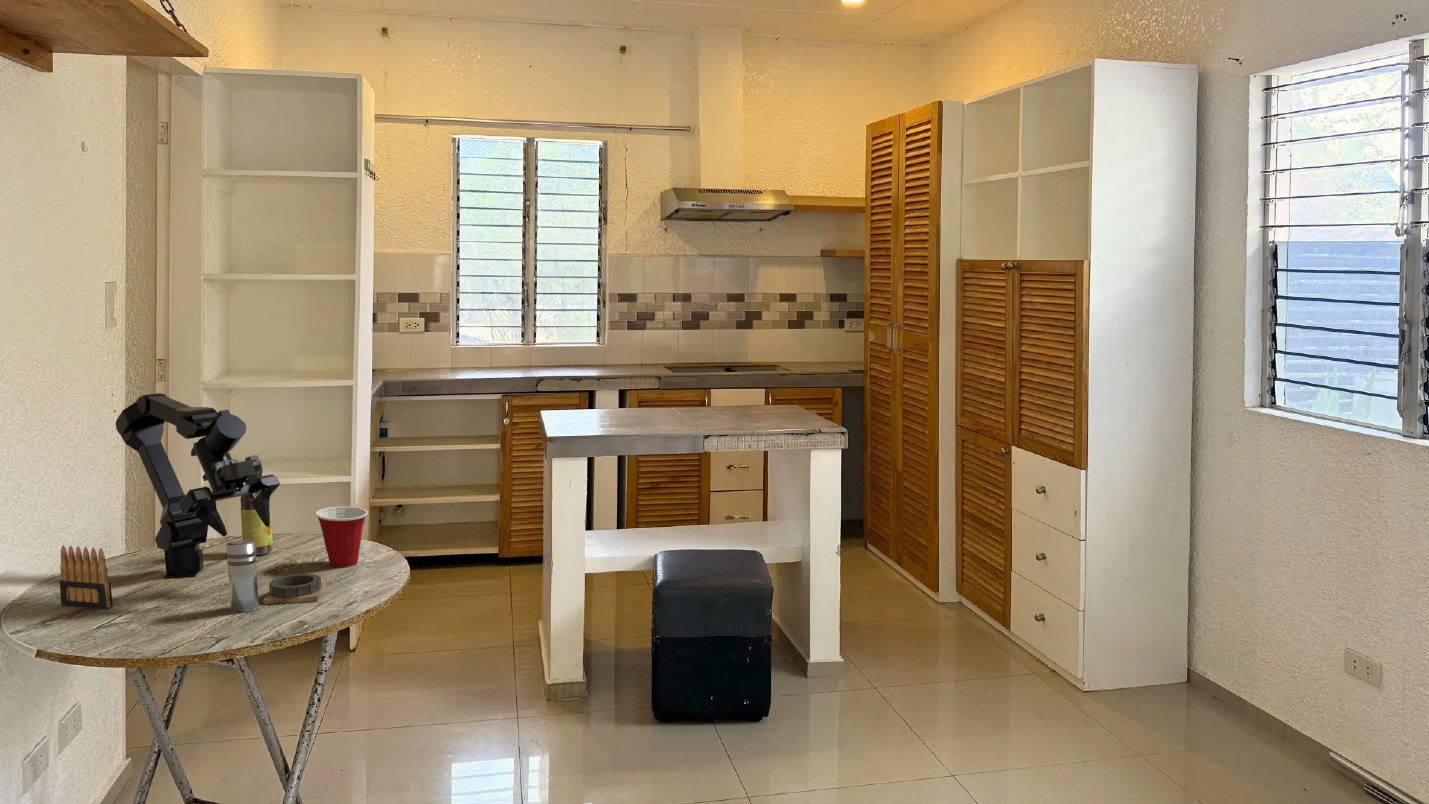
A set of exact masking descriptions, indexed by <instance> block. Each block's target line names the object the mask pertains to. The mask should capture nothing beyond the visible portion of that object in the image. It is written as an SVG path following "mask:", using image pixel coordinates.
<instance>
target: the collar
mask: <svg viewBox="0 0 1429 804" xmlns="http://www.w3.org/2000/svg"><path fill="white" fill-rule="evenodd" d="M327 586H328V585H327V581H322V577H321V576H319V575H317V574H311V573H296V574H295V573H294V574H288V575H283V576H280V577H277V578H274V579H272V580H271V581H270V582H269V583H268V587H269V592H268V593H267V595H266V596H265V597H264V598H263V605H278V604H279V605H280V604H281V605H282V604H293V603H294V604H296V603H297V604H298V603H311V602H312V603H313V602H314V603H315V602H319V600H320V598H321V596H322V595H323V593H324V592H325V590H326V589H327ZM323 591H324V592H323Z"/></svg>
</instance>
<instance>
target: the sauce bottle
mask: <svg viewBox="0 0 1429 804" xmlns="http://www.w3.org/2000/svg"><path fill="white" fill-rule="evenodd" d="M255 473H256V475H255V476H248V479H249V480H248V481H247V482H245V483H244V486H245V485H250V484H252V483H253V481H254V480H255V479H256V478H257V477H261V476H263V473H264V470H263V468H262V469H261V470H259V471H256V472H255ZM253 500H254V499H252V498H250V496H249V494H248V495H243V496H240V520H241V533H242V536H241V537H242V540H253V541H255V550H256V556H262V555H267V554H270V553H272V551H273V542H274V541H273V528H272V527H273V526H272V513H271V511H272V510H271V500H270V501H269V512H270V525H269V526H268V527H266V526H265V525H264V523H263V522H262V520H261V519H260V517H259V515H258V514H257V512H256V510H255V508H254V507H253V505H252V503H251V502H252V501H253Z"/></svg>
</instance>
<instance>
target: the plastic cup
mask: <svg viewBox="0 0 1429 804" xmlns="http://www.w3.org/2000/svg"><path fill="white" fill-rule="evenodd" d="M315 513H316V517H317V519H318V522H319V525H320V528H321V532H322V537H323V541H324V546H325V547H324V548H325V550H326V552H327V558H328V562H329V564H330V566H331V567H333V568H348V567H352V566H356V564H358V561H359V556H360V555H359V554H360V548H361V543H362V541H361V540H362V536H363V534H362V533H363V527H364V524H365V523H364V522H365V521H366V517H367V516H368V514H369V513H368V510H367V509H364V508H361V507H356V506H343V505H342V506H331V507H324V508H320V509H318V510H317V511H316V512H315Z"/></svg>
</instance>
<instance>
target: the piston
mask: <svg viewBox="0 0 1429 804" xmlns="http://www.w3.org/2000/svg"><path fill="white" fill-rule="evenodd" d="M226 558H227V559H226V560H227V570H228V571H227V572H228V586H229V587H228V588H229V597H230V598H229V600H230V612H232V613H235V614H243V613H244V614H245V613H251V612H254V611H257V610H258V609H260V601H259V599H260V598H259V587H258V586H259V584H258V582H259V581H258V570H257V555H256V550H255V541H253V540H243V539H239V540H233V541H232V540H231V541H230V542H228V543H226Z"/></svg>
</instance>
